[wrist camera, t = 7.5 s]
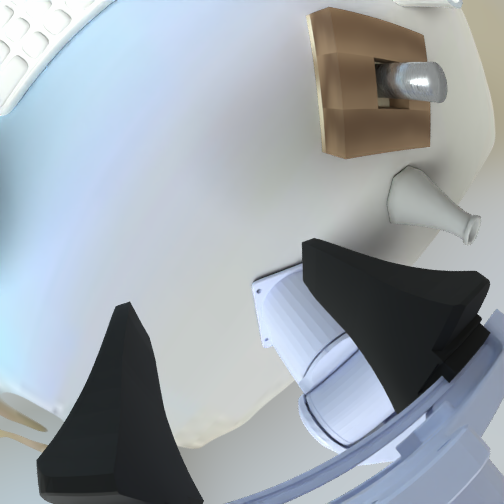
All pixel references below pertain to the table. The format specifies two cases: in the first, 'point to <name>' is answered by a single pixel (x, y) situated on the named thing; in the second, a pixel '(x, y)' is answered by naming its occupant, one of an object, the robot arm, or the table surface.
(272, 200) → the table surface
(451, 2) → the shot glass
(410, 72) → the pin
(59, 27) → the calculator
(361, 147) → the bore block
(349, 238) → the table surface
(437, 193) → the flask
